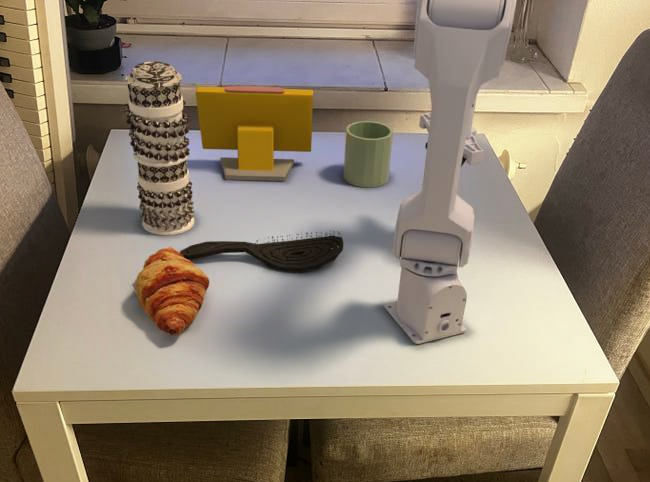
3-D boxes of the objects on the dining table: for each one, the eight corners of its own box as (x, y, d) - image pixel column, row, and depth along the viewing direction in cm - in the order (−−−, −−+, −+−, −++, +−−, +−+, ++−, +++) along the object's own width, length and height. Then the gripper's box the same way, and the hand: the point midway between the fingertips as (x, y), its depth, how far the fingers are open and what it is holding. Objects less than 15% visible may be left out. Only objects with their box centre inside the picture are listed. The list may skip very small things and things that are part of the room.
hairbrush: (180, 227, 118) (342, 222, 119) (184, 247, 121) (342, 243, 121) (174, 255, 112) (345, 250, 112) (178, 277, 114) (345, 271, 115)
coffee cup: (395, 183, 139) (401, 136, 133) (355, 190, 136) (358, 142, 130) (375, 165, 145) (379, 118, 139) (336, 171, 142) (338, 124, 136)
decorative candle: (135, 212, 127) (115, 58, 111) (191, 206, 130) (178, 54, 114) (143, 239, 120) (123, 80, 105) (201, 232, 123) (190, 75, 107)
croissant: (152, 281, 117) (121, 243, 112) (208, 250, 116) (179, 209, 111) (158, 366, 101) (123, 325, 96) (224, 330, 100) (191, 287, 95)
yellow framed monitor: (310, 163, 144) (313, 79, 134) (310, 182, 138) (313, 95, 128) (204, 160, 144) (198, 75, 134) (199, 179, 137) (193, 92, 127)
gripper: (508, 116, 105) (490, 206, 113) (452, 81, 115) (440, 166, 123) (464, 123, 102) (449, 214, 111) (411, 86, 112) (402, 172, 121)
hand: (442, 189), depth 117 cm, fingers closed
